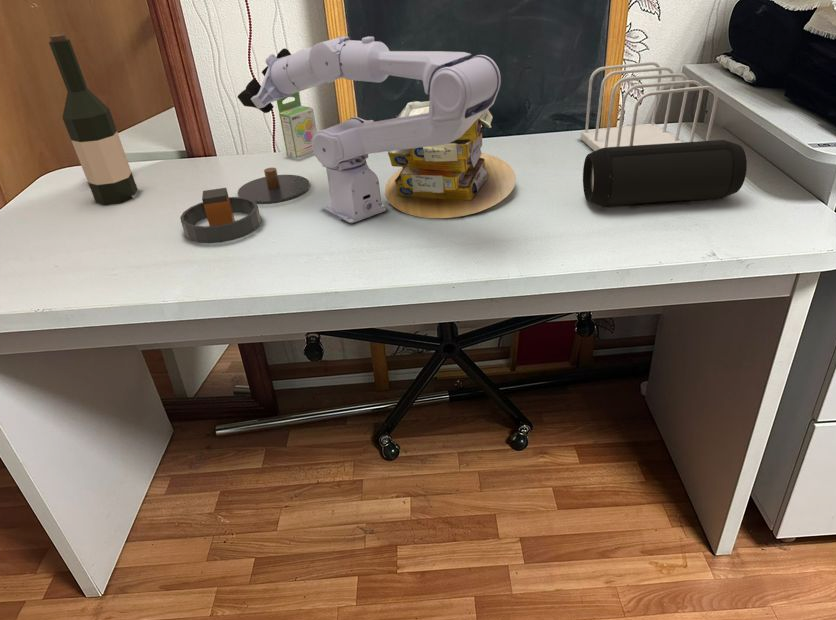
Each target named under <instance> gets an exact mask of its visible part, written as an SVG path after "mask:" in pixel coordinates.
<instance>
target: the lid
mask: <svg viewBox="0 0 836 620" xmlns="http://www.w3.org/2000/svg"><path fill="white" fill-rule="evenodd" d="M277 170H278V169H277V168H276V167H267V168H265V169H264V170H263V172H264V176H263V177H259V178H255V179H253V180H250V181H247V182H246V183H244V184H243V185H241V186H240V187H239V188H238V191H237V197H243V198H247V199H251V200H253V201H255V202H256V203H257V205H258V204H259V205H264V204H265V205H266V204H267V205H268V204H276V203H277V204H278V203H281V202H285V201H286V202H287V201H290V200H293V199H295V198H299V197H300V196H303V195H304V194H305V193H307V192H308V191H309V190H310V187H311V184H310V183H311V182H310V180H309V179H308V178H306V177H304V176H301V175H296V174H278V171H277Z"/></svg>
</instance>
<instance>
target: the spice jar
mask: <svg viewBox="0 0 836 620" xmlns="http://www.w3.org/2000/svg"><path fill="white" fill-rule="evenodd" d="M229 197H230V196H229V193H228V189H227V187H221V188H214V189H206V190H202V197H201V201H202V202H203V204H204V208H205V211H206V215H207V218H206V219H207V222H208V226H218V225H223V224H228V223H231V222H234V221H236V219H235V215H234V213H233V211H232V208H231V204H230V200H229Z"/></svg>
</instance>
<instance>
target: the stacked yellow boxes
mask: <svg viewBox="0 0 836 620" xmlns="http://www.w3.org/2000/svg"><path fill="white" fill-rule="evenodd" d="M429 101H430V100H427V101H418V100H415V101H410V102H407V104H406V106H405V107H404V108H403V109H402V110H401V112H400V113H399V114H398V115H395V118H400V117H406V116H413V115H419V114H425V113H429ZM492 121H493V115H492V113H491V111H489V109H487V110H486V111H485V112H484V113H483V114H482V115H481V116H480V117H479V118H478V119H477V120H476V121H475V122H474V123H473V124H472V126H471V127H470V128H469V129H468V130H467V131H466V132H465V133H464V134H463V135H462V136H461V137H460V138H458V139H457V140H455V141H453V142H451V143H448V144H445V145H436V146H428V147H420V148H412V149H403V150H395V151H387V154H388V157H389V161H390V164H391V166H392V167H395V168H397V167H398V168H399V169H398V170H397V171H395V172H394V173H393V174H392V175H391V176H390V178H389V179H388V181H387V183H386V185H385V188H384V195H385V198H386V200H387V202H388V203H389V205H391V206H392V207H393V208H395V209H396V210H398V211H400V212H402V213H404V214H407V215H410V216H415V217H419V218H426V219H451V218H460V217H464V216H465V217H466V216H468V215H472V214H475V213H479V212H483V211H485V210H487V209H490V208H492V207H493V206H495V205H498V204H499V203H500V202H502V201H503V200H504V199H506V198H507V197H508V196H509V195H510V194H511V193H512V191H513V189H514V188H515V185H516V181H517V175H516V172H515V170H514V169H513V167H512V166H511V165H510V164H509V163H508V162H506V161H505V160H504V159H501V158H500V157H498V156H494V155H492V154H488V153H485V152H484V153H483V152H482V149H481V148H482V147H483V132H482V131H481V128H482V125H483V126H484V127H485V128H488V129H492V125H491V123H492Z"/></svg>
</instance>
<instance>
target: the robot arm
mask: <svg viewBox="0 0 836 620" xmlns="http://www.w3.org/2000/svg"><path fill="white" fill-rule="evenodd" d="M470 56H472V53H470V52H465V51H445V50H443V51H442V50H439V51H436V50H434V51H432V50H430V51H429V50H427V51H425V50H420V51H419V50H418V51H417V50H412V51H411V50H410V51H409V50H398V51H397V50H395V51H394V50H390V49H389V47H388V46H387V44H385V43H384V42H382V41H378V40H377V41H375V37H374V36H365V37H362V38H361V40H353V39H350V37H349V36H342V35H340V36H338V37H336V38H332V39H328V40H325V41H321V42H318V43H315V44H314V45H312V46H311V47H308V48H305V49H304V48H302V49H300V50H297V51H295V52H294V53H291V52H290V50H289V49H287V48H285V47H284V48H282V49H281V50H280V51H279V52H278V53H277V55H275V54H274V53H272V54H269V55H268V56H267V57H266V58H265V60H264V61H265V64H266V65H267V66H265V68H263V70H261V73H262V75H263V77H264V78H263V79H262V82H261V84H260V83H259V81H258V79H256V77H254V78H252V79H251V80H250V81H249V82H248V83H247V85H246V86H245V89H243V90H242V91H241V92H240V93H239V94H238V95H237V99H238V100H239V102H240V103H241V104H242V105H243V106H244V107H247V108H248V107H249V108H255V109H257V110H259V111H260V112H262V113H264V114H268V113H270V112H271V111H272V110H273V109H274V108H275V107H274V105H273V103H274V102H277V100H279V99H282V98H285V97H288V96H291V95H293V94H294V93H296V92H299V93H300V92H302V91H305V90H308V89H311V88H314V87H317V86H321V85H324V84H325V83H326V84H332V83H334V82H335V81H336V80H338V79H344V80H348V81H356V82H357V81H358V82H369V83H377V84H379V83H383V82H384V81H386V80H387V78H388V77H389V76H392V77H399V78H405V79H412V80H418V81H422V84H423V89H424V93H425V94H426V95H427V96H428V95H429V100H428V101H429V113H425V114H419V115H413V116H406V117H400V118H397V117H393V118H389V119H383V120H378V121H375V120H373V119H369V120H366V119H363V118H362V117H358V116H352V117H350V118H348V119H346V120H344V121H343V122H340V123H337V124H334V125H332V126H329V127H328V128H325V129H319V130H317V132H316V133H315V134H314V136H313V139H312V147H313V151H314V152H313V155H314V157H316V159H317V161H318V162H319V163H320V164H321V165H322V167H323V168H325V169H326V175H327V176H326V177H327V183H328V188H329V189H328V190H329V195H330V200H331V204H328V205H325V206H323V207H322V208H323V209H325V210H326V211H329V212H330V213H331V214H334V215H336V216H338V217H339V218H341V219H342V220H343V221H345V222H347V223H348V224H354V223H357V222H360V221H362V220H365V219H368V218H371V217H373V216H376V215H380V214H381V213H384V212H386V211H387V208H386V207H385V206H383V205H382V196H381V187H380V179H379V177H378V175H377V173H375V172H374V171H373V170H371V168H370V167H369V166H368V165H369V164H368V163H367V159H369V154H370V155H371V154H377V153H386V152H387V153H388V151H395V150H403V149H412V148H420V147H428V146H436V145H445V144H448V143H451V142H453V141H455V140H457V139H458V138H460V137H461V136H462V135H463V134H464V133H465V132H466V131H467V130H468V129H469V128H470V127H471V126H472V124H473V123H474V122H475V121H476V120H477V119H478V118H479V117H480V116H481V115H482V114H483V113H484V112H485V111H486V110H487V109H488V110H489V109H490V108H491V107H492V106H493V105H494V104H495V101H496V99H497V96H498V93H499V92H500V87H501V85H502V78H501V71H500V69H499V67H498V65H497V63H496V62H495V61H494V59H493V58H491V57H489V56H487V55H484V54H477V55H474V56H472V57H471V58H469V57H470ZM467 58H469V59H467ZM288 98H289V97H288Z"/></svg>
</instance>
